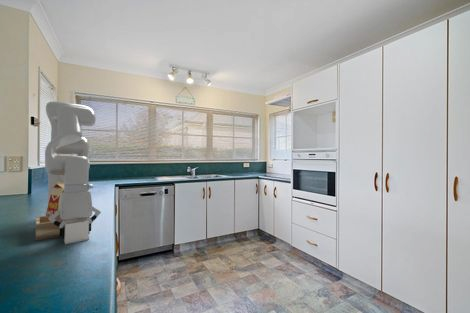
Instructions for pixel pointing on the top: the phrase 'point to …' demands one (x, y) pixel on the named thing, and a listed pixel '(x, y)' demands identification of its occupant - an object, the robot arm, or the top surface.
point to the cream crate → (76, 230)
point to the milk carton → (55, 198)
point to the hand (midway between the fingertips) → (75, 235)
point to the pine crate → (46, 228)
